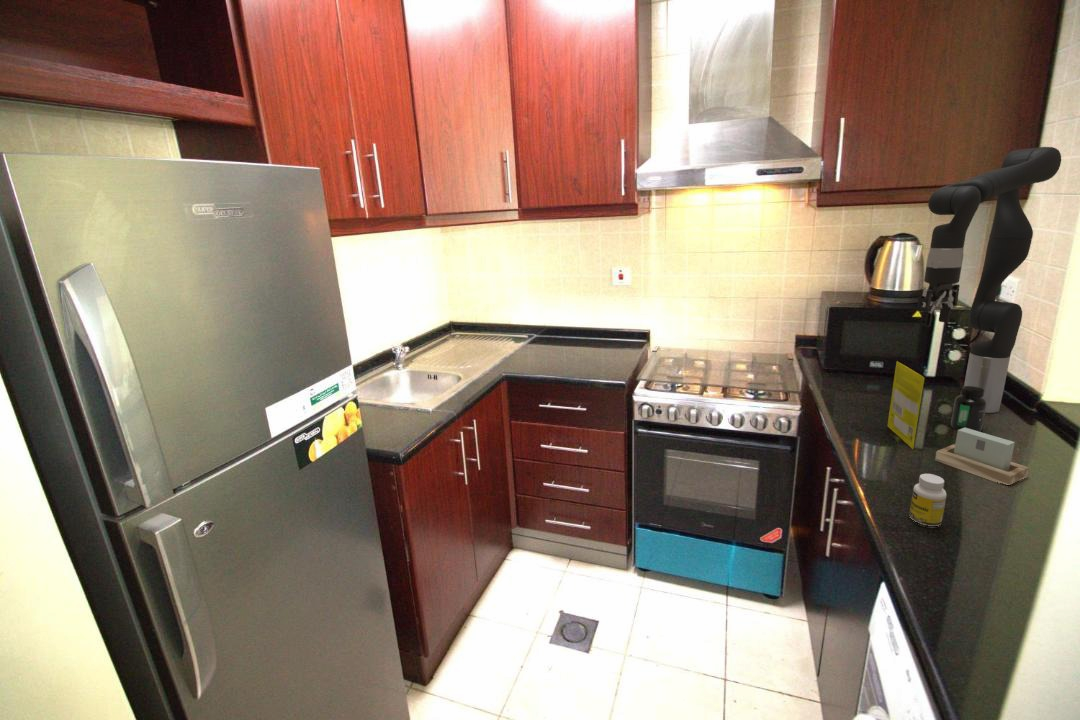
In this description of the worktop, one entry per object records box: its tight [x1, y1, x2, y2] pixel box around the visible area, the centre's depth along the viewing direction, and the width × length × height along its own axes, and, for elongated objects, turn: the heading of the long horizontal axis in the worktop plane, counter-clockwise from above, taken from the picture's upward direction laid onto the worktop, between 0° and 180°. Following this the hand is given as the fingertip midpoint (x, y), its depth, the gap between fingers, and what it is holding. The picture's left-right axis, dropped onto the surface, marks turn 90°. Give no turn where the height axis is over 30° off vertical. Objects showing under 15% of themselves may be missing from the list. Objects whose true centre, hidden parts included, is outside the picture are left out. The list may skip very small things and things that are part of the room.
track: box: [934, 443, 1030, 485], centre depth 123 cm, size 8×15×3 cm, turn 25°
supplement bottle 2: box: [950, 385, 987, 432], centre depth 143 cm, size 7×7×12 cm
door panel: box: [954, 428, 1016, 472], centre depth 122 cm, size 3×10×8 cm, turn 25°
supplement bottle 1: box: [908, 473, 947, 527], centre depth 104 cm, size 5×5×10 cm
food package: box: [887, 360, 925, 450], centre depth 139 cm, size 15×1×20 cm, turn 168°
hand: (934, 324), depth 141 cm, fingers open, 8 cm apart
